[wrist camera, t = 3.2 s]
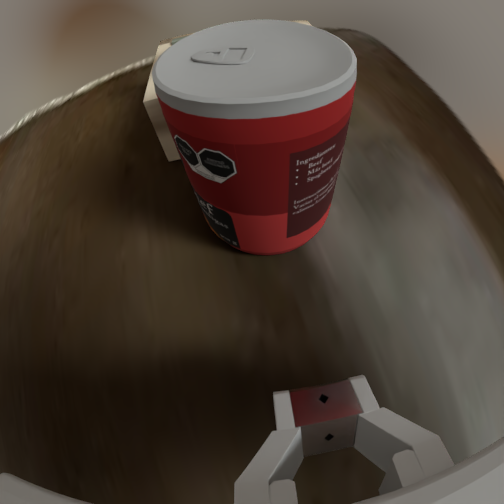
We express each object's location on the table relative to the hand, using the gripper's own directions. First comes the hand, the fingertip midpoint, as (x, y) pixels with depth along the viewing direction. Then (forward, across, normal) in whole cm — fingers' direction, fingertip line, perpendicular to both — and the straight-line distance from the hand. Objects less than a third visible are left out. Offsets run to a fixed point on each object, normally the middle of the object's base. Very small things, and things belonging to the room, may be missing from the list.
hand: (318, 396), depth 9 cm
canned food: (+12, 0, -4) cm, 13 cm away
